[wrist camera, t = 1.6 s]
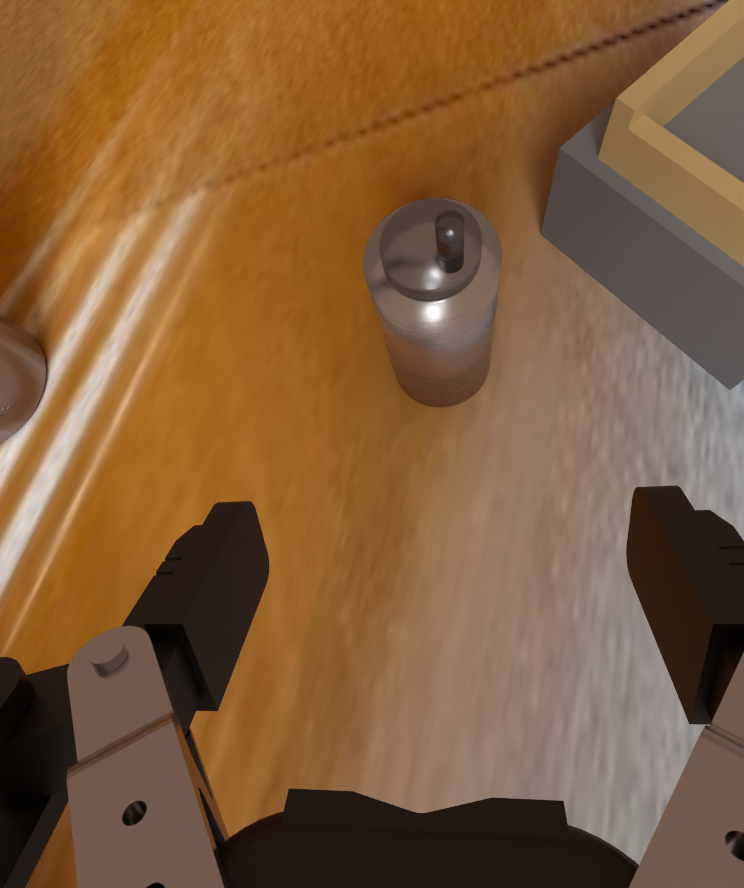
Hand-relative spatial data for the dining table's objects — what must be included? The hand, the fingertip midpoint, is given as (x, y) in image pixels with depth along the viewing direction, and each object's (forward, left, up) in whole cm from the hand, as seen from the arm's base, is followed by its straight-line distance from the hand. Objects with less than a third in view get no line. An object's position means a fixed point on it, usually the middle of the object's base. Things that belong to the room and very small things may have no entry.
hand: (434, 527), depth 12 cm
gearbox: (-3, +24, -19) cm, 30 cm away
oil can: (-9, +8, -19) cm, 22 cm away
